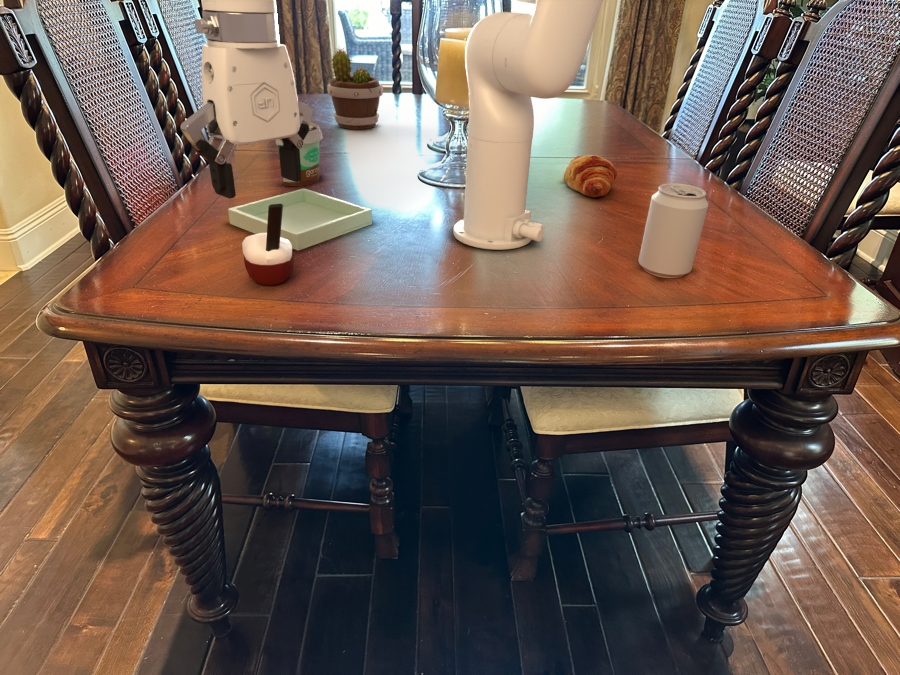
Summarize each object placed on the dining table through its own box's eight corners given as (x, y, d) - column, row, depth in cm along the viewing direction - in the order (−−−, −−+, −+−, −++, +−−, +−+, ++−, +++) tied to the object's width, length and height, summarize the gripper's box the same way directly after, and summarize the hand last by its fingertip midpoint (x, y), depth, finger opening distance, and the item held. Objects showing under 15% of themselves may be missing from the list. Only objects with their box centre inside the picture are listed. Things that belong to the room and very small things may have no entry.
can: (660, 283, 84) (680, 199, 78) (626, 263, 90) (642, 182, 84) (702, 276, 87) (724, 193, 81) (666, 256, 93) (684, 178, 87)
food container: (310, 190, 114) (306, 136, 109) (280, 187, 115) (274, 133, 110) (334, 173, 125) (331, 122, 120) (306, 170, 126) (302, 120, 121)
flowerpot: (385, 121, 172) (383, 42, 162) (382, 132, 159) (380, 48, 149) (333, 119, 172) (328, 40, 161) (325, 131, 158) (320, 46, 148)
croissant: (564, 187, 134) (551, 154, 130) (608, 167, 131) (596, 133, 128) (581, 218, 115) (566, 180, 112) (632, 195, 113) (618, 156, 109)
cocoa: (250, 268, 84) (238, 181, 78) (297, 266, 85) (288, 181, 79) (242, 299, 76) (228, 205, 70) (294, 297, 77) (285, 204, 71)
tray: (372, 224, 100) (371, 209, 99) (297, 250, 89) (296, 234, 88) (305, 201, 109) (303, 188, 108) (229, 223, 98) (227, 208, 97)
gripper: (189, 35, 58) (215, 210, 66) (326, 31, 70) (334, 180, 78) (146, 29, 62) (177, 195, 70) (284, 26, 74) (295, 168, 82)
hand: (259, 187), depth 74 cm, fingers open, 9 cm apart
